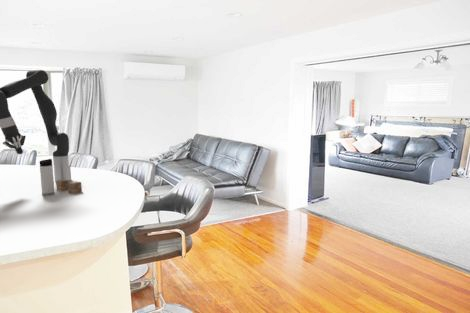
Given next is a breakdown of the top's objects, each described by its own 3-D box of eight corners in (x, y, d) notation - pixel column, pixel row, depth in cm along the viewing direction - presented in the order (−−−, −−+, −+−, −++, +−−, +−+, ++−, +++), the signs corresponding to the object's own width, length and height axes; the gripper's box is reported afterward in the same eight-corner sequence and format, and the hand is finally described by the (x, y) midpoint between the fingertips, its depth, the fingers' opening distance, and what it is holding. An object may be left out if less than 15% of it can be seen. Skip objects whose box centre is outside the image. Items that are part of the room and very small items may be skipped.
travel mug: (57, 193, 189) (55, 159, 187) (47, 195, 183) (45, 160, 181) (49, 192, 191) (46, 158, 189) (39, 194, 185) (36, 160, 182)
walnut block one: (76, 191, 194) (75, 181, 193) (81, 192, 192) (81, 181, 191) (68, 192, 190) (68, 182, 189) (73, 193, 187) (73, 183, 187)
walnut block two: (64, 188, 200) (63, 179, 199) (69, 189, 198) (68, 179, 197) (56, 190, 196) (55, 180, 195) (61, 191, 194) (60, 181, 193)
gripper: (0, 128, 178) (13, 157, 184) (22, 121, 189) (34, 149, 195) (-8, 129, 181) (5, 158, 187) (15, 123, 193) (27, 150, 198)
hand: (20, 153), depth 191 cm, fingers closed
